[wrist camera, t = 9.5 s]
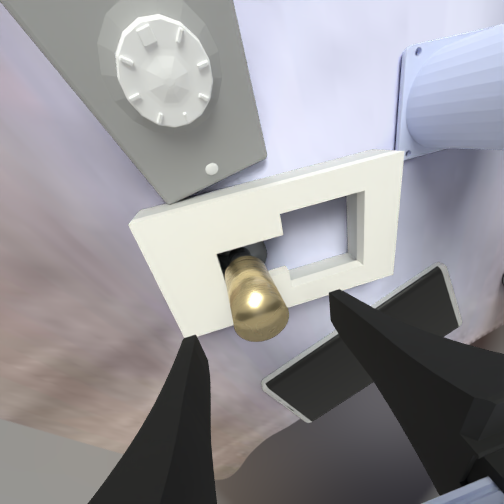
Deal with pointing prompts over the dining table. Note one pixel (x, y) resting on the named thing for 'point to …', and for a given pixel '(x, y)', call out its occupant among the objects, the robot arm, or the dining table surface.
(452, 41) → the robot arm
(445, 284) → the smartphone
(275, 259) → the dining table surface
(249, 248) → the peg
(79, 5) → the light switch
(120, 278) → the dining table surface
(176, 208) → the keyhole board
